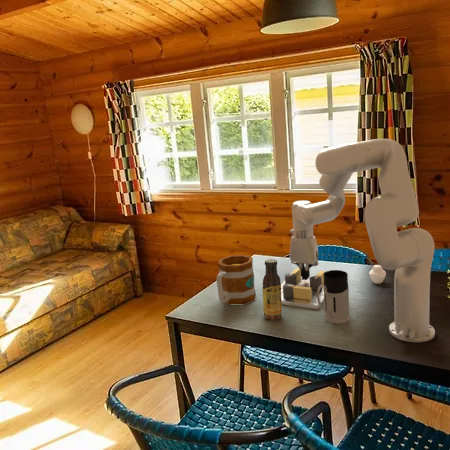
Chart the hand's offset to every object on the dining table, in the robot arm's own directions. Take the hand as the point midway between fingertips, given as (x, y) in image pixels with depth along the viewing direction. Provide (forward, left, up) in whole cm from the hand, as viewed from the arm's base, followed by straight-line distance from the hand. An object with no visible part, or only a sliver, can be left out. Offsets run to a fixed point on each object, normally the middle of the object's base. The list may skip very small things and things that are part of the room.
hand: (305, 278), depth 176 cm
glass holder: (-25, -19, -3) cm, 31 cm away
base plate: (-8, -2, -3) cm, 9 cm away
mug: (-22, +19, -3) cm, 30 cm away
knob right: (-2, -6, -1) cm, 6 cm away
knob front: (-15, -3, -1) cm, 15 cm away
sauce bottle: (-29, 0, -3) cm, 29 cm away
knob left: (-2, +4, -1) cm, 5 cm away
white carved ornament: (+12, -25, -3) cm, 27 cm away
